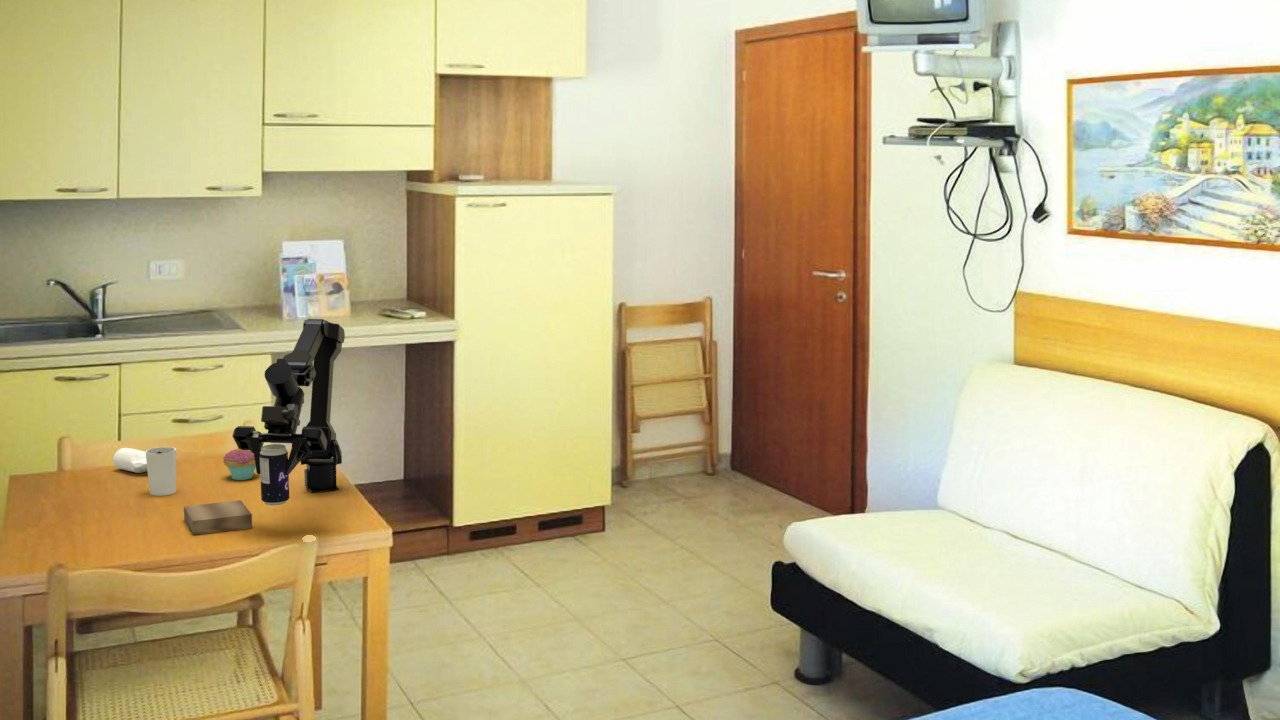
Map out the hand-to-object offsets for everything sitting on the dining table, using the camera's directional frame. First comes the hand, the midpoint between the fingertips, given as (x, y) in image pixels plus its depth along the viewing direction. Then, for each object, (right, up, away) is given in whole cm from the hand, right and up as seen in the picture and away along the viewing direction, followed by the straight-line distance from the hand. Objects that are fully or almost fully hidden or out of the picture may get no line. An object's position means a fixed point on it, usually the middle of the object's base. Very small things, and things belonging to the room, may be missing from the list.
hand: (272, 473), depth 274 cm
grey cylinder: (-34, -7, +33) cm, 48 cm away
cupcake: (-20, -5, +46) cm, 51 cm away
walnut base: (-14, -11, +9) cm, 20 cm away
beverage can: (0, -6, +3) cm, 7 cm away
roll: (-47, -4, +50) cm, 69 cm away
